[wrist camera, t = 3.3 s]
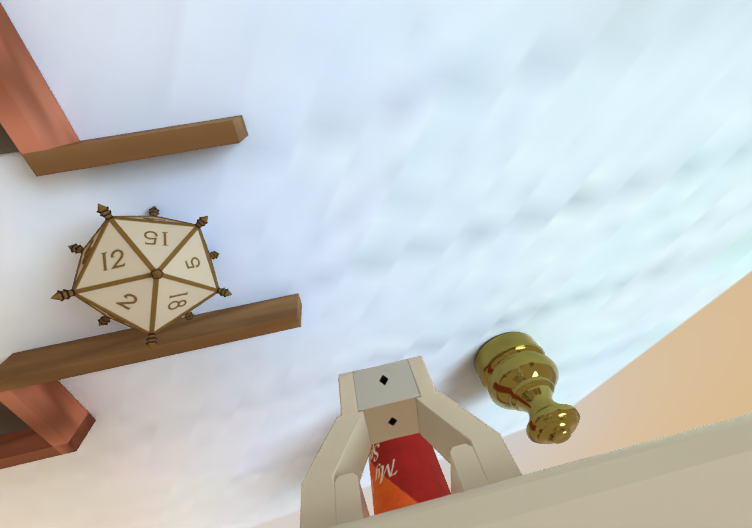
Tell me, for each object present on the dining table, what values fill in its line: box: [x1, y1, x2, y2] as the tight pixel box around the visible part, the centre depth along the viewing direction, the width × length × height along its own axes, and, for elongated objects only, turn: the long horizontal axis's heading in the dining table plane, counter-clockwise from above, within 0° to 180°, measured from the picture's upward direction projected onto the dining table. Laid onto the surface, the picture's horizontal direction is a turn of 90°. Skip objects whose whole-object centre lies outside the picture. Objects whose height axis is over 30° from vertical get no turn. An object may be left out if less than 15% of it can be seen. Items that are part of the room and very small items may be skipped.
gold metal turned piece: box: [475, 332, 580, 444], centre depth 32 cm, size 7×7×10 cm
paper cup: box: [369, 433, 451, 515], centre depth 31 cm, size 8×8×14 cm
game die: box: [50, 204, 232, 350], centre depth 20 cm, size 9×8×10 cm
